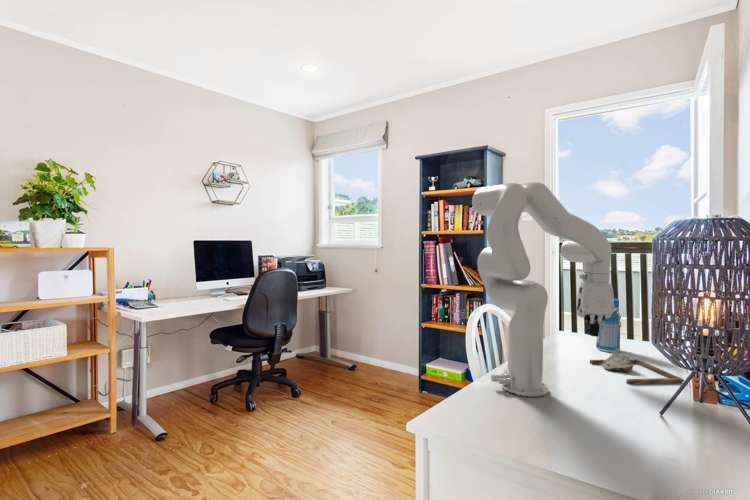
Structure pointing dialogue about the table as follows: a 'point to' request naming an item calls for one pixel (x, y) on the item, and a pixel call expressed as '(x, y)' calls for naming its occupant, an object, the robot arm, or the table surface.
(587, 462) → the table surface
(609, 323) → the beverage bottle
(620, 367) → the rock sample
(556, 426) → the table surface
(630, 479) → the table surface
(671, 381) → the frame
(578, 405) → the table surface
